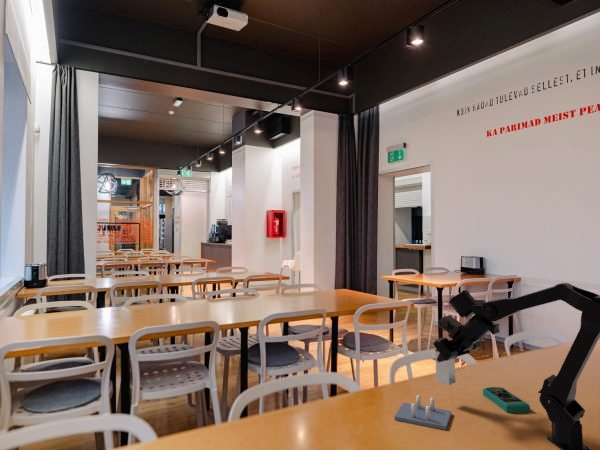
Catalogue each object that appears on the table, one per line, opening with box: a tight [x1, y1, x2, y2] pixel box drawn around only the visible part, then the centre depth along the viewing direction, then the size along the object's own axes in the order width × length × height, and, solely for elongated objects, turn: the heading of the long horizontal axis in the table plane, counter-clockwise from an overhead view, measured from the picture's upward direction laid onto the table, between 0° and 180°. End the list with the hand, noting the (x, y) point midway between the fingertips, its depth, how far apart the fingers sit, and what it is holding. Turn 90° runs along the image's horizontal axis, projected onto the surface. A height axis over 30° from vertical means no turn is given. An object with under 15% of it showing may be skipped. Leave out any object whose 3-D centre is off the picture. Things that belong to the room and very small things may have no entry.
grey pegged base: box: [394, 394, 452, 431], centre depth 115 cm, size 14×11×4 cm
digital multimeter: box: [482, 386, 531, 414], centre depth 125 cm, size 7×15×3 cm, turn 3°
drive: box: [434, 348, 456, 386], centre depth 125 cm, size 4×4×10 cm
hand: (441, 359), depth 126 cm, fingers closed on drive, 3 cm apart
